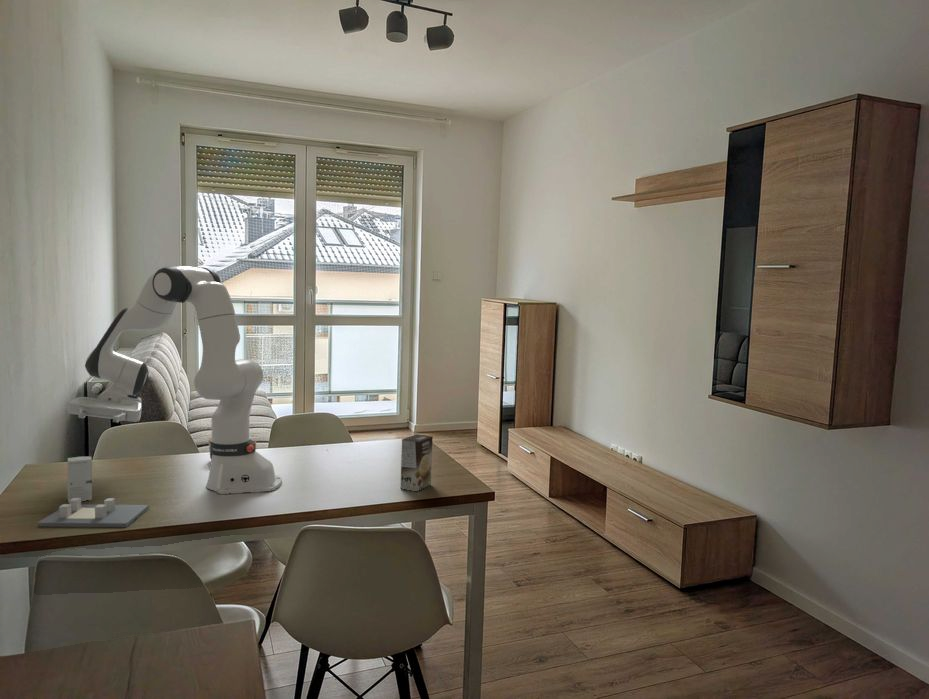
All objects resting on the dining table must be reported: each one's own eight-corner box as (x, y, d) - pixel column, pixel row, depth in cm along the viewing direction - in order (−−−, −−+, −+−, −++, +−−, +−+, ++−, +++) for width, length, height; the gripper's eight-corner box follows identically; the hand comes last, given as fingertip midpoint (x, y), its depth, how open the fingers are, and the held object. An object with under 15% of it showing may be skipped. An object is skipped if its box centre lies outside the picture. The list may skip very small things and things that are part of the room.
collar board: (149, 508, 183) (148, 494, 182) (126, 527, 169) (126, 512, 168) (67, 507, 181) (66, 493, 181) (37, 526, 167) (37, 511, 167)
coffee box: (417, 492, 204) (418, 441, 202) (399, 489, 207) (401, 439, 205) (431, 484, 212) (433, 436, 210) (414, 481, 215) (415, 433, 213)
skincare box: (68, 503, 184) (67, 461, 183) (67, 499, 188) (66, 457, 187) (93, 500, 188) (92, 458, 187) (92, 495, 192) (91, 455, 190)
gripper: (77, 389, 207) (61, 403, 193) (146, 398, 212) (136, 412, 199) (74, 408, 208) (58, 423, 195) (144, 416, 213) (133, 432, 200)
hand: (98, 417), depth 197 cm, fingers open, 8 cm apart
